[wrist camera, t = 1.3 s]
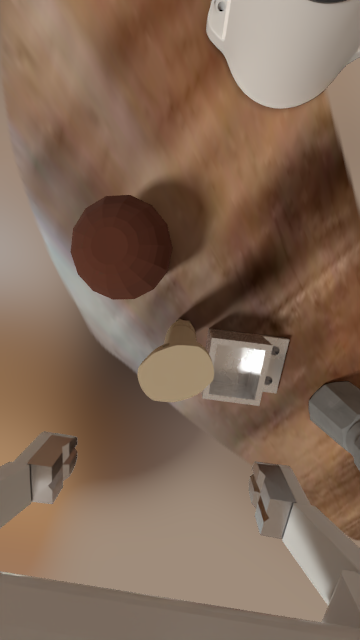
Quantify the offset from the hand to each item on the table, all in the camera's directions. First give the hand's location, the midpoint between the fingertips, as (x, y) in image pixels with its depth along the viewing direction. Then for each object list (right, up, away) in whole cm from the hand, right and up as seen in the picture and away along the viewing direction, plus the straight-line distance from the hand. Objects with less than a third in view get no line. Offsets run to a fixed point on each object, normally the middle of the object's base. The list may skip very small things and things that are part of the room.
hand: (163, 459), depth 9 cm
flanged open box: (+11, 0, +23) cm, 25 cm away
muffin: (-6, +16, +21) cm, 27 cm away
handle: (+1, +5, +23) cm, 23 cm away
